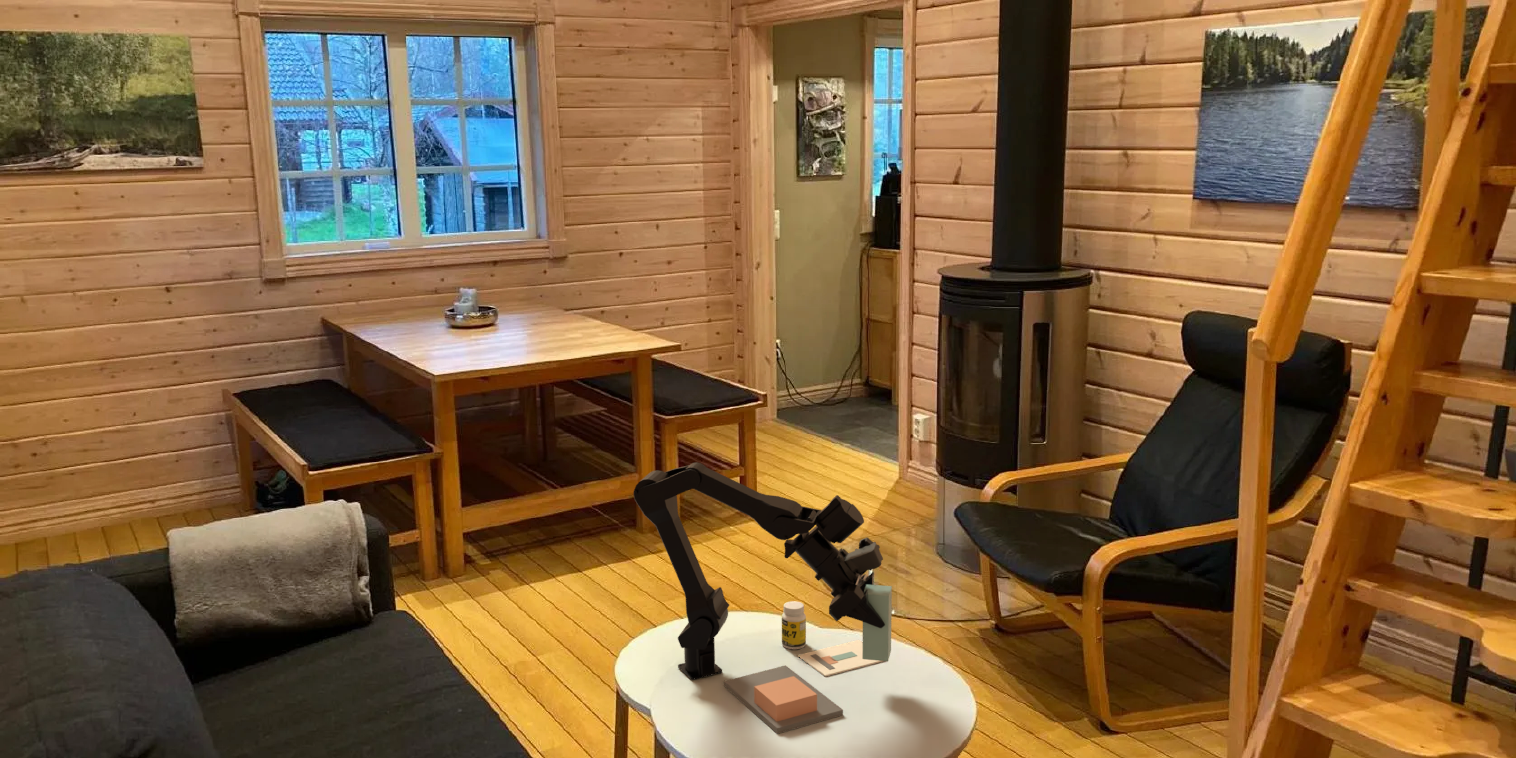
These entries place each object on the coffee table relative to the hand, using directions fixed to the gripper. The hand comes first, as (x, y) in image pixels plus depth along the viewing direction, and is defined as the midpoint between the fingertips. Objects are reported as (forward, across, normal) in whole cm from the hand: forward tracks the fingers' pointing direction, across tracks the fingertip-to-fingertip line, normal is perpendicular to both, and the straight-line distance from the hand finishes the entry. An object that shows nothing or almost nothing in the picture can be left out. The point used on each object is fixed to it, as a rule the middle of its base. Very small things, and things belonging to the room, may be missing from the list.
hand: (884, 621), depth 206 cm
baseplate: (-3, -8, +21) cm, 23 cm away
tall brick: (+4, 0, +6) cm, 7 cm away
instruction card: (+2, +10, +16) cm, 19 cm away
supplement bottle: (-5, +15, +23) cm, 28 cm away
